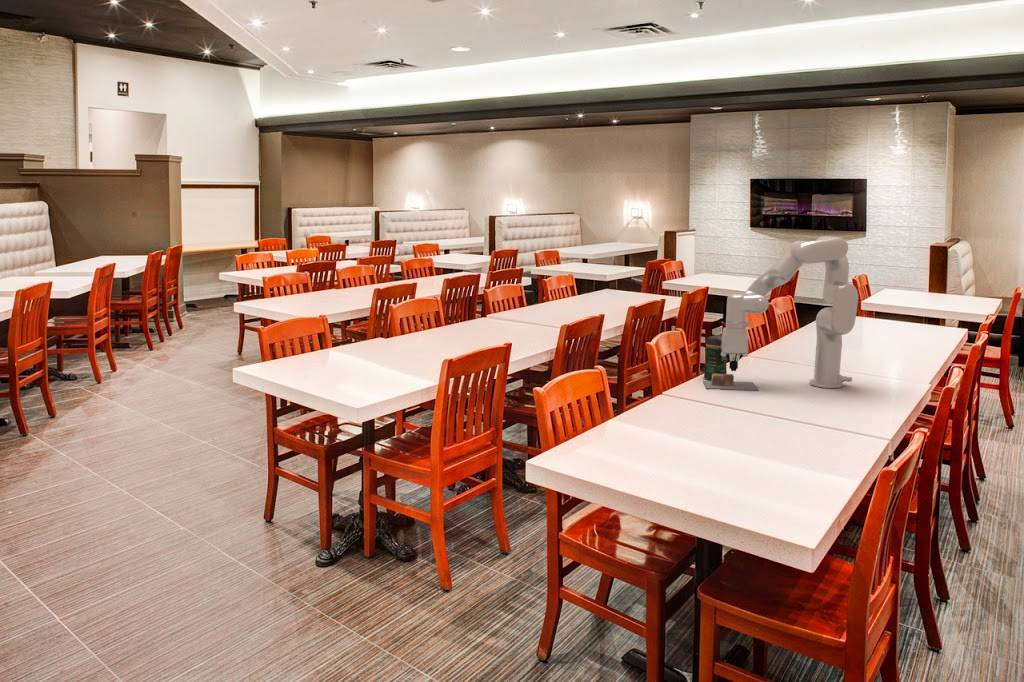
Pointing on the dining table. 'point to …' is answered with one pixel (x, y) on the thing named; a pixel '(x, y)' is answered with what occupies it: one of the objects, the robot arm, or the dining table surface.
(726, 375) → the walnut block
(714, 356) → the coffee jar
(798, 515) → the dining table surface
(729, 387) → the rubber mat
